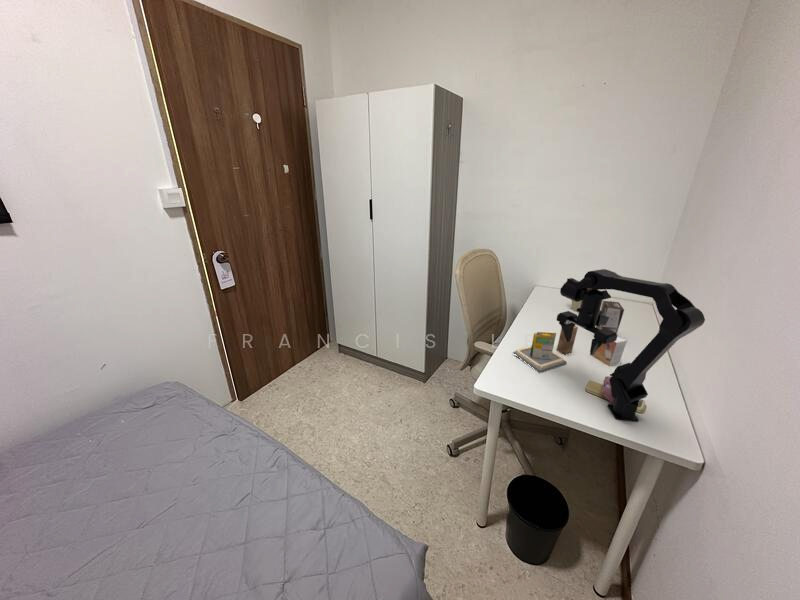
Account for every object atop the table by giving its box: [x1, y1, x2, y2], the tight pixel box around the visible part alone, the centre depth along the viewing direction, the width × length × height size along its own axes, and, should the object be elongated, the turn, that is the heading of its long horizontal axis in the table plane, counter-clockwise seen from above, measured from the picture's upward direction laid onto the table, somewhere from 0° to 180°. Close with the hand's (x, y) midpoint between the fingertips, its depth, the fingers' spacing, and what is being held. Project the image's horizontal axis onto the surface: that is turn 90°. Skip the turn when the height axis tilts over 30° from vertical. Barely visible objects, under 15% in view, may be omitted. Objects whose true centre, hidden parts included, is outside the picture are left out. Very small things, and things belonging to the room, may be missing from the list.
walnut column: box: [556, 325, 579, 356], centre depth 135 cm, size 4×4×12 cm
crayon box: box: [530, 331, 557, 359], centre depth 129 cm, size 7×3×12 cm, turn 85°
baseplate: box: [512, 345, 568, 374], centre depth 131 cm, size 14×14×2 cm
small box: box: [591, 335, 628, 367], centre depth 130 cm, size 8×6×10 cm
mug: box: [571, 288, 592, 312], centre depth 173 cm, size 11×10×12 cm
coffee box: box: [595, 300, 625, 334], centre depth 146 cm, size 9×6×16 cm
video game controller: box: [601, 375, 615, 404], centre depth 111 cm, size 10×5×7 cm, turn 142°
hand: (579, 348), depth 115 cm, fingers open, 9 cm apart
